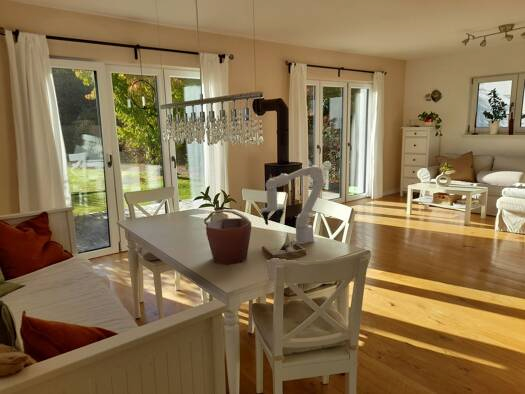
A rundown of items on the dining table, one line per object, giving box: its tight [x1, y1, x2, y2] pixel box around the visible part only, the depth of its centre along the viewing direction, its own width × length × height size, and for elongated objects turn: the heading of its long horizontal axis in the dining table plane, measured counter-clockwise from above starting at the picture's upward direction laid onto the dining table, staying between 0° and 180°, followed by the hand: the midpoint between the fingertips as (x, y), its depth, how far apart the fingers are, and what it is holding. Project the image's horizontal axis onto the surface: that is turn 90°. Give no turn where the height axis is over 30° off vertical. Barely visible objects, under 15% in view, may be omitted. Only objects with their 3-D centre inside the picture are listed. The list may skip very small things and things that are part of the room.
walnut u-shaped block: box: [261, 240, 307, 260], centre depth 194 cm, size 18×15×3 cm
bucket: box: [203, 209, 252, 266], centre depth 188 cm, size 24×22×25 cm
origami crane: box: [279, 232, 299, 253], centre depth 193 cm, size 11×10×10 cm
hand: (272, 223), depth 213 cm, fingers open, 7 cm apart
